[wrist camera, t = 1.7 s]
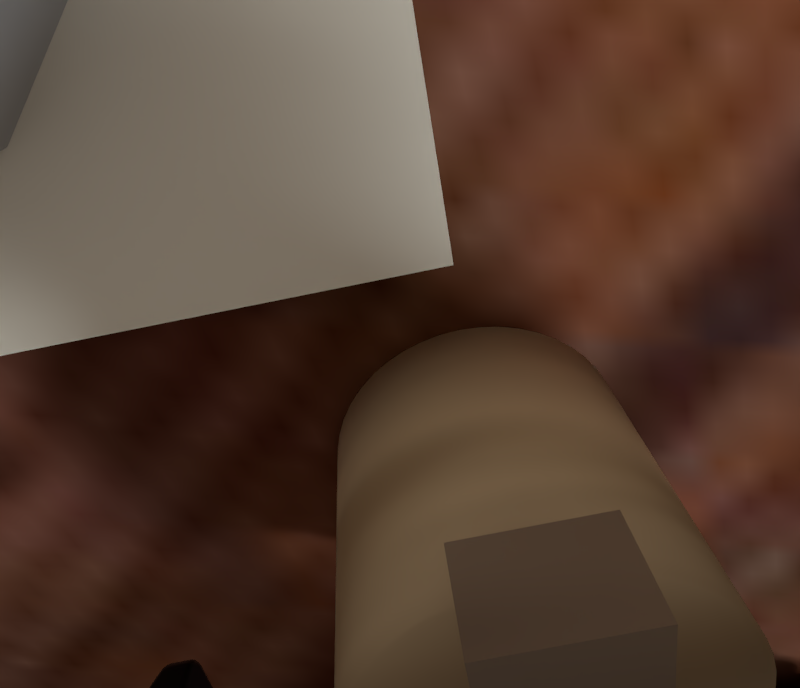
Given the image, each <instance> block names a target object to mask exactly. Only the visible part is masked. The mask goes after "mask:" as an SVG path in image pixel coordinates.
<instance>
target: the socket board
mask: <svg viewBox="0 0 800 688" xmlns="http://www.w3.org/2000/svg"><path fill="white" fill-rule="evenodd" d="M451 265H453V258H452V252H451V246H450V239H449V233H448V226H447V220H446V214H445V207H444V201H443V195H442V188H441V182H440V175H439V169H438V163H437V156H436V150H435V144H434V137H433V131H432V125H431V118H430V112H429V105H428V99H427V93H426V86H425V80H424V74H423V67H422V61H421V54H420V48H419V42H418V35H417V29H416V23H415V16H414V10H413V3H412V0H0V356H3V355H8V354H13V353H18V352H23V351H28V350H33V349H38V348H43V347H48V346H53V345H58V344H63V343H68V342H73V341H78V340H83V339H88V338H93V337H98V336H103V335H108V334H113V333H118V332H123V331H127V330H132V329H137V328H142V327H147V326H152V325H157V324H162V323H167V322H172V321H177V320H182V319H187V318H192V317H197V316H202V315H207V314H212V313H217V312H222V311H227V310H232V309H237V308H242V307H247V306H252V305H257V304H262V303H267V302H272V301H277V300H282V299H287V298H292V297H297V296H302V295H307V294H312V293H317V292H322V291H327V290H332V289H337V288H342V287H347V286H352V285H357V284H362V283H367V282H372V281H377V280H382V279H387V278H392V277H397V276H402V275H407V274H412V273H417V272H422V271H427V270H432V269H437V268H442V267H447V266H451Z"/></svg>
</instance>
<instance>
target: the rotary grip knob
mask: <svg viewBox="0 0 800 688" xmlns="http://www.w3.org/2000/svg"><path fill="white" fill-rule="evenodd" d="M776 674H777V671H776V665H775V660H774V654H773V652H772V650H771V647H770V645H769V643H768V641H767V638H766V637H765V635H764V633H763V632H762V630H761V629H760V627H759V625H758V624H757V622H756V621H755V619H754V617H753V616H752V614H751V613H750V611H749V609H748V608H747V606H746V605H745V603H744V602H743V600H742V598H741V597H740V595H739V594H738V592H737V590H736V589H735V587H734V586H733V584H732V582H731V581H730V579H729V578H728V576H727V574H726V573H725V571H724V570H723V568H722V566H721V565H720V563H719V562H718V560H717V558H716V557H715V555H714V554H713V552H712V550H711V549H710V547H709V546H708V544H707V542H706V541H705V539H704V538H703V536H702V535H701V533H700V531H699V530H698V528H697V527H696V525H695V523H694V522H693V520H692V519H691V517H690V515H689V514H688V512H687V511H686V509H685V507H684V506H683V504H682V503H681V501H680V499H679V498H678V496H677V495H676V493H675V491H674V490H673V488H672V487H671V485H670V483H669V482H668V480H667V479H666V477H665V475H664V474H663V472H662V471H661V469H660V467H659V466H658V464H657V463H656V461H655V460H654V458H653V456H652V455H651V453H650V452H649V450H648V448H647V447H646V445H645V444H644V442H643V440H642V439H641V437H640V436H639V434H638V432H637V431H636V429H635V428H634V426H633V424H632V423H631V421H630V420H629V418H628V416H627V415H626V413H625V412H624V410H623V408H622V407H621V405H620V404H619V402H618V400H617V399H616V397H615V396H614V394H613V393H612V391H611V389H610V388H609V386H608V385H607V383H606V381H605V380H604V379H603V377H602V376H601V374H600V373H599V372H598V370H597V369H596V368H595V367H594V366H593V365H592V364H591V363H590V362H589V361H588V360H587V359H586V358H585V357H584V356H583V355H581V354H580V353H578V352H577V351H576V350H574V349H573V348H572V347H570V346H568V345H566V344H564V343H562V342H560V341H559V340H557V339H554V338H552V337H549V336H546V335H543V334H541V333H538V332H533V331H529V330H524V329H519V328H509V327H477V328H470V329H462V330H457V331H453V332H449V333H446V334H442V335H438V336H436V337H433V338H430V339H428V340H425V341H423V342H420V343H418V344H416V345H414V346H412V347H411V348H409V349H407V350H405V351H403V352H401V353H400V354H398V355H397V356H396V357H394V358H393V359H391V360H390V361H388V362H387V363H386V364H384V365H383V366H382V367H381V368H380V369H379V370H378V371H377V372H375V373H374V374H373V375H372V376H371V377H370V378H369V380H368V381H367V382H366V383H365V384H364V385H363V386H362V388H361V389H360V390H359V392H358V393H357V395H356V396H355V398H354V399H353V401H352V402H351V404H350V406H349V409H348V411H347V413H346V415H345V417H344V420H343V423H342V427H341V430H340V434H339V442H338V461H337V532H336V604H335V675H334V688H776Z"/></svg>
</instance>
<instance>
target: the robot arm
mask: <svg viewBox="0 0 800 688" xmlns="http://www.w3.org/2000/svg"><path fill="white" fill-rule="evenodd" d="M150 688H213V687H212V685H211V683H210V682H209V680H208V678H207V676H206V674H205V672H204V670H203V669H202V667H201V665H200V664H199V662H197V661H196V660H187V661H182V662H176V663H171V664H169V665H167V666H166V667H164V668H163V669H162V671H161V672H160V673H159V675H158V676H157V677H156V679H155V680H154V682H153V683H152V685H151V686H150Z"/></svg>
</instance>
